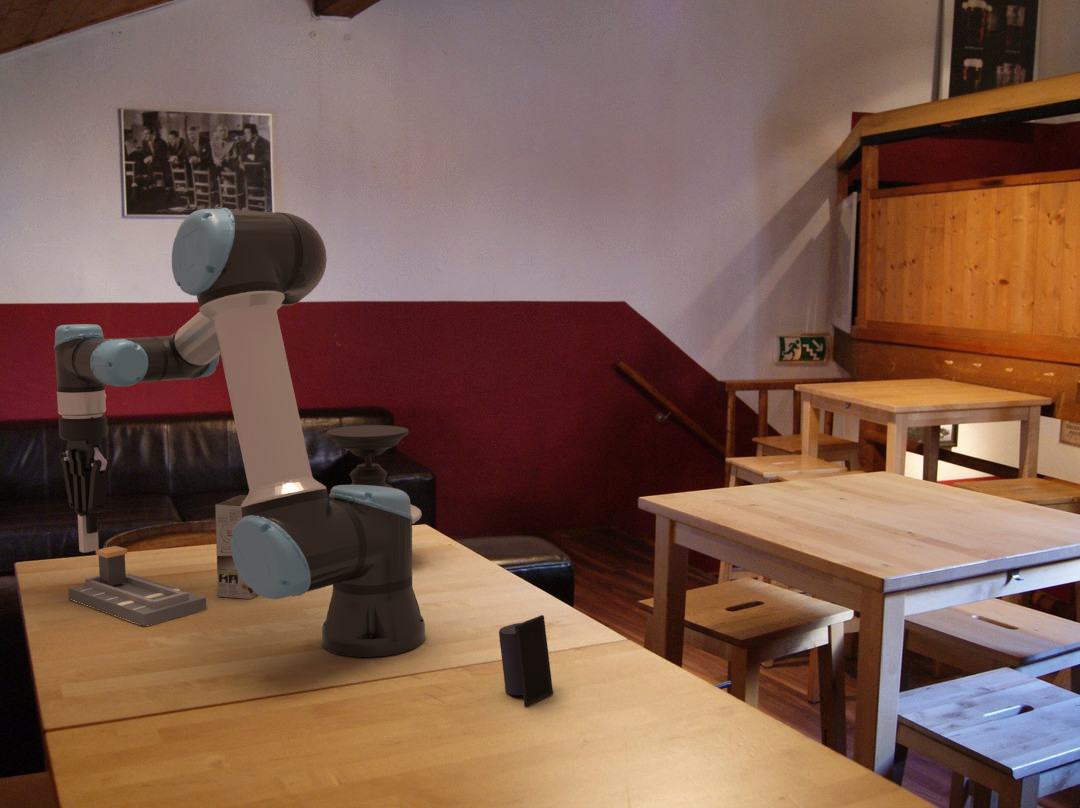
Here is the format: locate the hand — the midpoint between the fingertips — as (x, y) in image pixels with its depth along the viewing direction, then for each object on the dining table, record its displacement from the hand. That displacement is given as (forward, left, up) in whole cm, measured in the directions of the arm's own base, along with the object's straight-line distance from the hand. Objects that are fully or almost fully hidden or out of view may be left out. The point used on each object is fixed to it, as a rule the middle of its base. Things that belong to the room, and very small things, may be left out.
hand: (89, 550), depth 180 cm
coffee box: (-22, -16, -7) cm, 28 cm away
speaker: (-88, -10, -7) cm, 89 cm away
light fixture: (-26, -41, -7) cm, 49 cm away
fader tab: (-7, 0, -5) cm, 9 cm away
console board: (-14, 0, -7) cm, 16 cm away
